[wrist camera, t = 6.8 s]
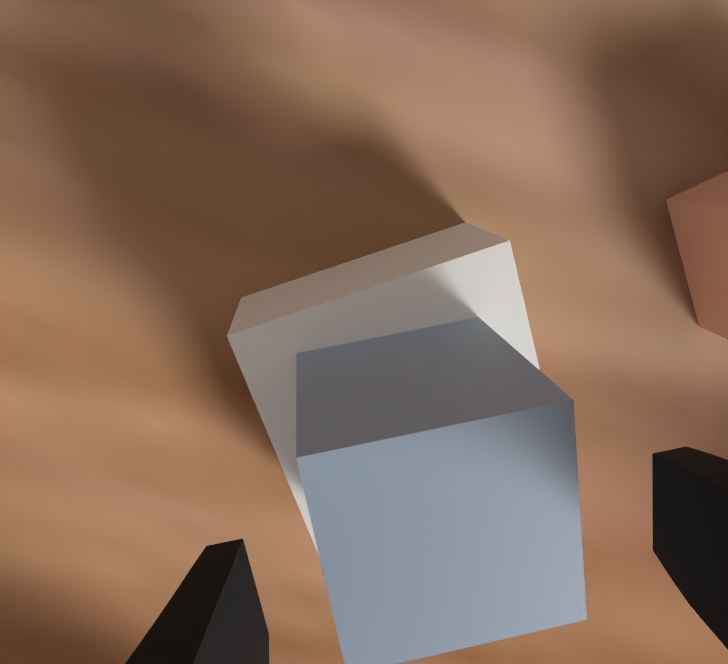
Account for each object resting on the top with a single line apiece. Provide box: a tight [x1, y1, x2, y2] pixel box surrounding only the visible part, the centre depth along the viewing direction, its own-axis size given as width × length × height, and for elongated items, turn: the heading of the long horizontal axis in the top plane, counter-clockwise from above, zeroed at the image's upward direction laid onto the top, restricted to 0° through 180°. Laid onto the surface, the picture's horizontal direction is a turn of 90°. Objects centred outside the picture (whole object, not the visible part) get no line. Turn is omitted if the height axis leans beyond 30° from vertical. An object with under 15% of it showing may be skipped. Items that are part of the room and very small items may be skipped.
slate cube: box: [296, 317, 587, 664], centre depth 12 cm, size 4×4×5 cm
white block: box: [227, 222, 540, 554], centre depth 16 cm, size 7×7×4 cm
